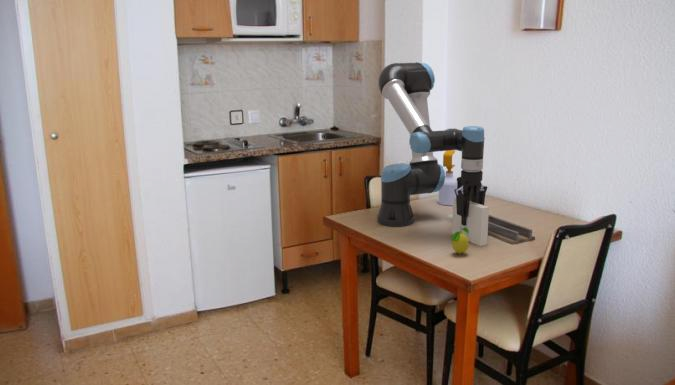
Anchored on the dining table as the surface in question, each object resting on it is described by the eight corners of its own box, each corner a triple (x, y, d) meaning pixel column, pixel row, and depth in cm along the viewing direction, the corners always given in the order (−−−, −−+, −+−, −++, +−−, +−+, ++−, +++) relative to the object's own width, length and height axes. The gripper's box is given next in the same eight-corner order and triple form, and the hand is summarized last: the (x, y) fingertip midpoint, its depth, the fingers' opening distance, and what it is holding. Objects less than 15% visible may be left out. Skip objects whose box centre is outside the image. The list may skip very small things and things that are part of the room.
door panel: (480, 246, 198) (482, 208, 194) (452, 234, 212) (453, 198, 208) (488, 244, 199) (490, 206, 196) (459, 232, 213) (461, 197, 210)
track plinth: (512, 244, 199) (512, 233, 198) (468, 227, 220) (468, 217, 219) (534, 239, 204) (535, 229, 203) (489, 223, 225) (490, 213, 224)
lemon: (468, 251, 193) (469, 223, 190) (471, 256, 187) (472, 228, 185) (448, 251, 193) (449, 223, 191) (451, 256, 187) (452, 228, 185)
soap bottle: (461, 202, 258) (463, 149, 252) (454, 206, 251) (455, 152, 245) (442, 200, 263) (444, 148, 257) (435, 204, 255) (436, 151, 250)
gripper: (460, 174, 193) (458, 238, 198) (496, 169, 199) (493, 232, 205) (447, 170, 199) (445, 233, 204) (482, 166, 206) (479, 226, 211)
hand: (469, 232), depth 205 cm, fingers closed on door panel, 3 cm apart
